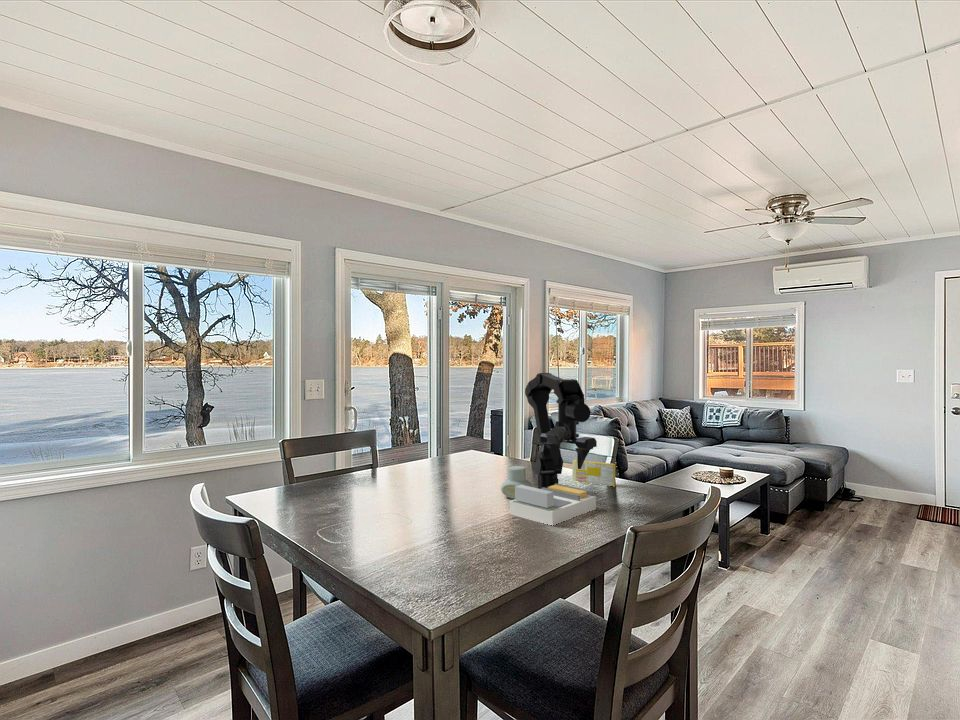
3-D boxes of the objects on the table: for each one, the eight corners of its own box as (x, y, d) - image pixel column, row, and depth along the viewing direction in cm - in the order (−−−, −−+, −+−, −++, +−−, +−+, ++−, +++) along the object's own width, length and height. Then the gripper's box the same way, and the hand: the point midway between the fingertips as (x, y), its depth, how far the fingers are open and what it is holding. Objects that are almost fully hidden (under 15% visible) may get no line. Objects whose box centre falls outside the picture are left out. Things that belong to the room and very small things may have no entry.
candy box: (616, 486, 186) (615, 463, 186) (614, 487, 184) (614, 464, 184) (574, 481, 195) (573, 459, 195) (572, 482, 193) (571, 460, 193)
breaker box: (509, 514, 153) (509, 495, 153) (554, 499, 169) (554, 482, 169) (552, 526, 142) (552, 506, 142) (595, 509, 157) (595, 491, 157)
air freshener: (536, 496, 174) (536, 466, 174) (527, 502, 166) (527, 471, 166) (507, 492, 178) (507, 463, 178) (497, 498, 171) (497, 468, 171)
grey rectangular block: (515, 499, 152) (514, 486, 152) (521, 498, 154) (521, 484, 154) (547, 508, 143) (547, 493, 143) (553, 505, 146) (553, 491, 146)
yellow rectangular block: (547, 491, 163) (547, 486, 163) (555, 489, 166) (555, 484, 166) (579, 498, 155) (579, 493, 155) (586, 496, 157) (586, 491, 157)
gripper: (528, 418, 165) (529, 466, 165) (576, 423, 152) (576, 475, 152) (550, 415, 173) (550, 461, 173) (597, 420, 159) (597, 469, 159)
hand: (567, 466), depth 164 cm, fingers open, 9 cm apart
